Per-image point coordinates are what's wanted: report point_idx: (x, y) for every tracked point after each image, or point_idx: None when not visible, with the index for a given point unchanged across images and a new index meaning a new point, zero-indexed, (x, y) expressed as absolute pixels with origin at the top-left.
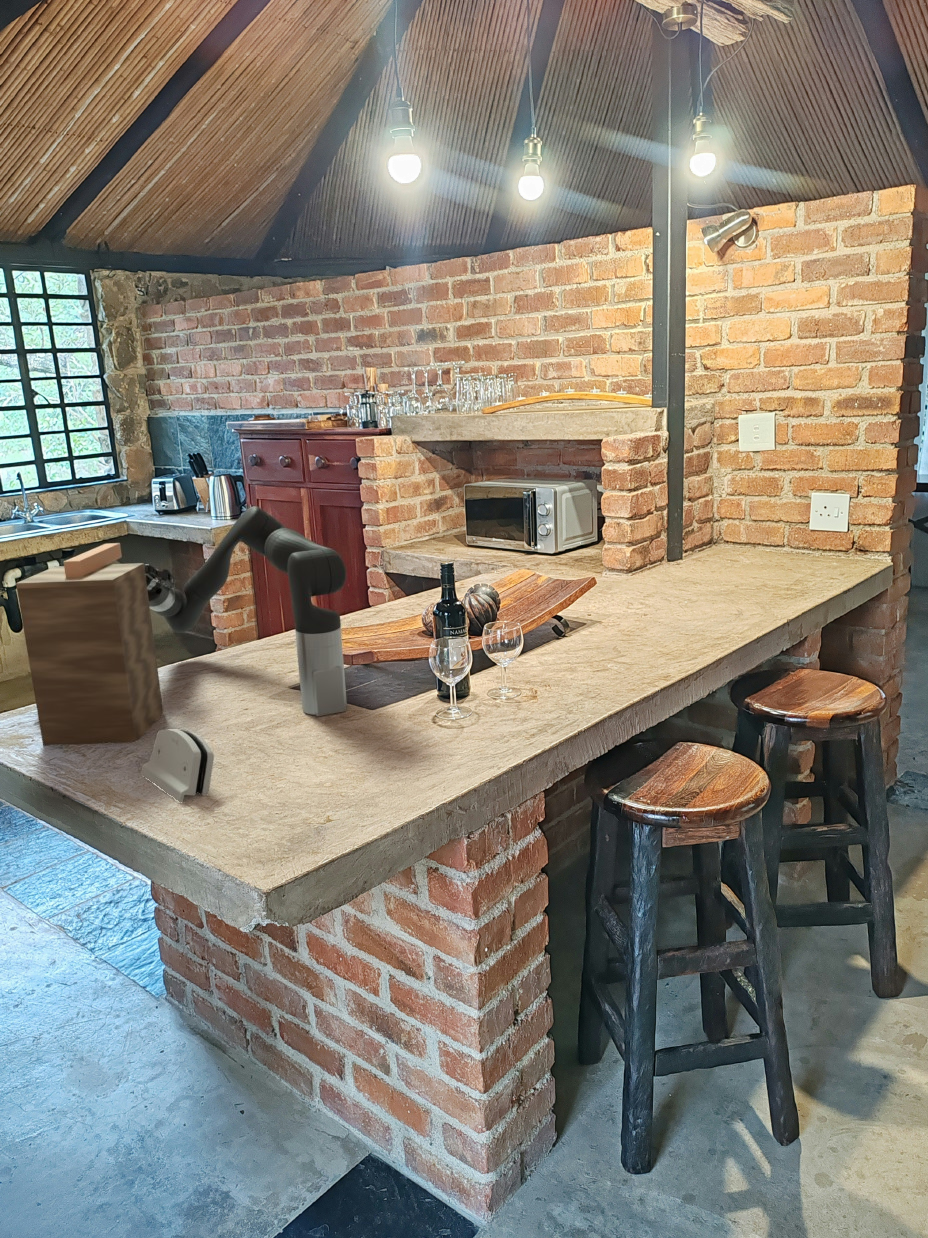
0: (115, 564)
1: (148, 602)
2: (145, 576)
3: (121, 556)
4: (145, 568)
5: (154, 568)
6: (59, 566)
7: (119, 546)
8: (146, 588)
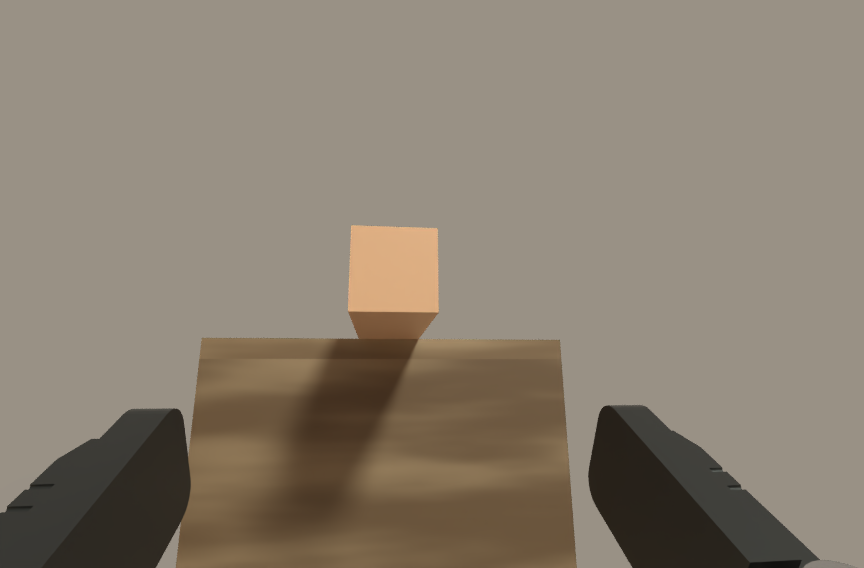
0: (321, 339)
1: (183, 519)
2: (195, 396)
3: (348, 306)
4: (179, 451)
5: (19, 503)
6: (540, 340)
7: (351, 247)
8: (192, 449)
